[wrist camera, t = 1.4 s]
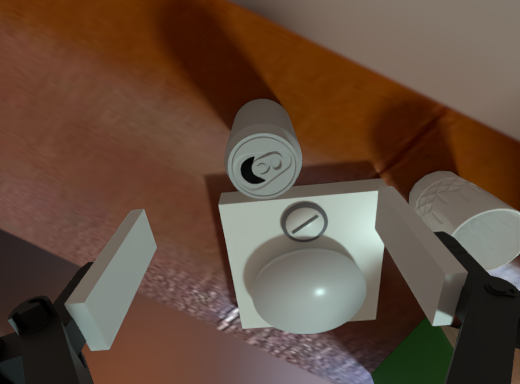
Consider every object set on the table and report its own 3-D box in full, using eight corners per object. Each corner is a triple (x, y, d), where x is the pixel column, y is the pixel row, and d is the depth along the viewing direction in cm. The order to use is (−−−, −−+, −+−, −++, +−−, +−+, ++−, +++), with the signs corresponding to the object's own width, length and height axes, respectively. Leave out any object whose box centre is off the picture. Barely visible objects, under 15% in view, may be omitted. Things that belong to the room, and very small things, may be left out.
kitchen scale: (381, 178, 37) (397, 198, 33) (369, 303, 47) (380, 331, 43) (221, 192, 38) (216, 214, 34) (243, 312, 48) (241, 340, 44)
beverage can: (224, 111, 33) (207, 148, 23) (278, 87, 32) (287, 114, 21) (247, 160, 36) (242, 214, 25) (298, 140, 35) (315, 187, 24)
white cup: (423, 158, 36) (476, 199, 27) (480, 174, 37) (550, 219, 28) (392, 212, 39) (430, 264, 31) (445, 225, 40) (497, 280, 32)
